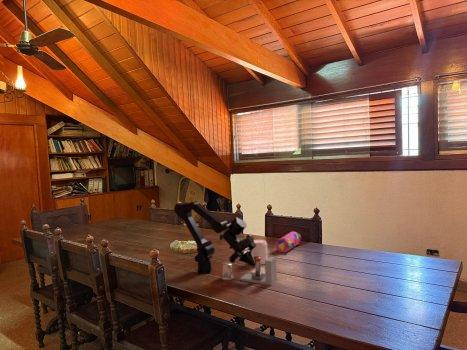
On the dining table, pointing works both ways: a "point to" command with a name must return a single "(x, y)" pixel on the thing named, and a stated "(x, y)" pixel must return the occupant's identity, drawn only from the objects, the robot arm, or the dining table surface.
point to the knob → (227, 271)
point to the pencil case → (288, 242)
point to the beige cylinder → (260, 250)
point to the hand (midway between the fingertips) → (254, 265)
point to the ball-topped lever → (258, 269)
